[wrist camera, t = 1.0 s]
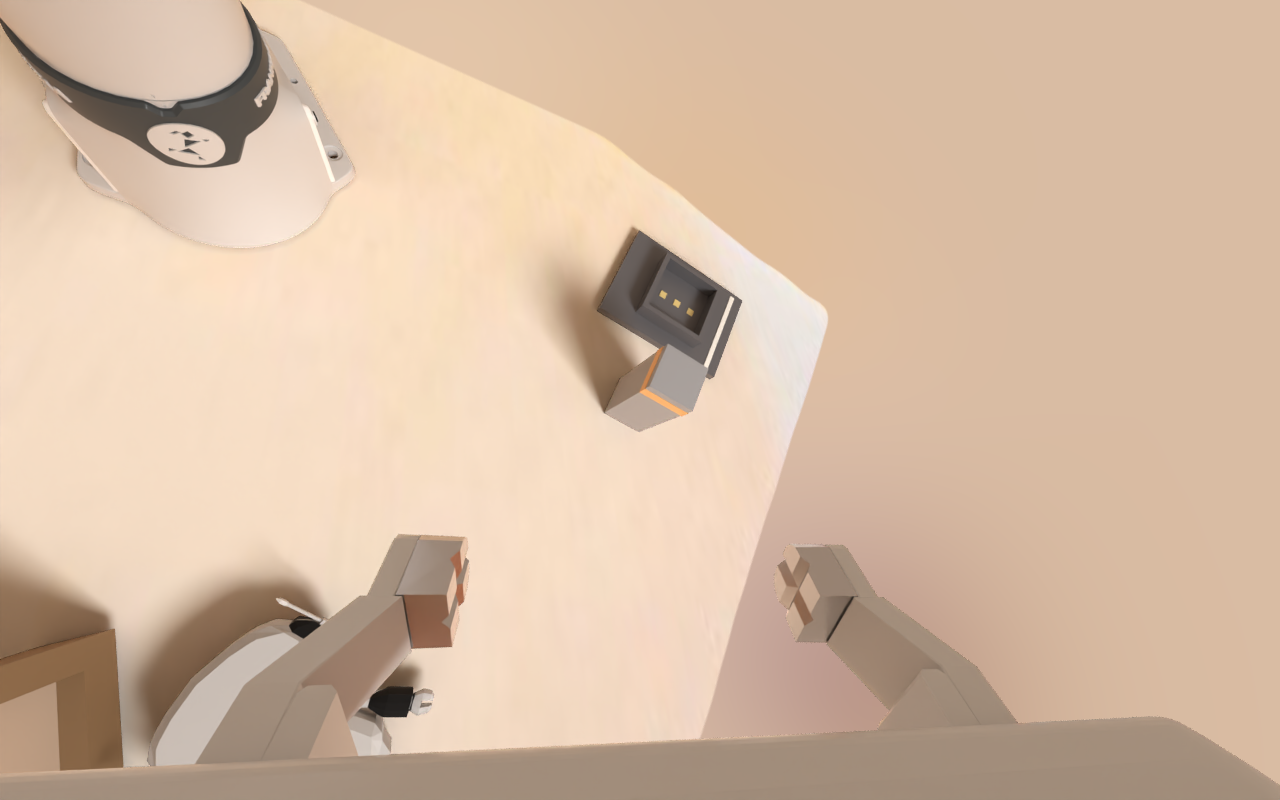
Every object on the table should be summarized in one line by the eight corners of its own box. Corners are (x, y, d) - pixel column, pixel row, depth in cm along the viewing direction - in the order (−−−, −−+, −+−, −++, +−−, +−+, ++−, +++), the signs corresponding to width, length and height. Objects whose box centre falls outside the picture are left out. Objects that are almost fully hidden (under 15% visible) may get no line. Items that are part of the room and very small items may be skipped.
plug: (603, 413, 49) (648, 386, 38) (619, 377, 51) (667, 342, 40) (638, 432, 50) (692, 411, 40) (653, 397, 52) (709, 368, 41)
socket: (597, 310, 52) (605, 299, 49) (636, 235, 56) (646, 221, 53) (709, 379, 56) (723, 372, 53) (737, 303, 60) (751, 294, 57)
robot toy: (443, 677, 39) (284, 582, 35) (447, 699, 35) (269, 594, 31) (328, 840, 34) (128, 749, 30) (317, 887, 30) (86, 788, 26)
